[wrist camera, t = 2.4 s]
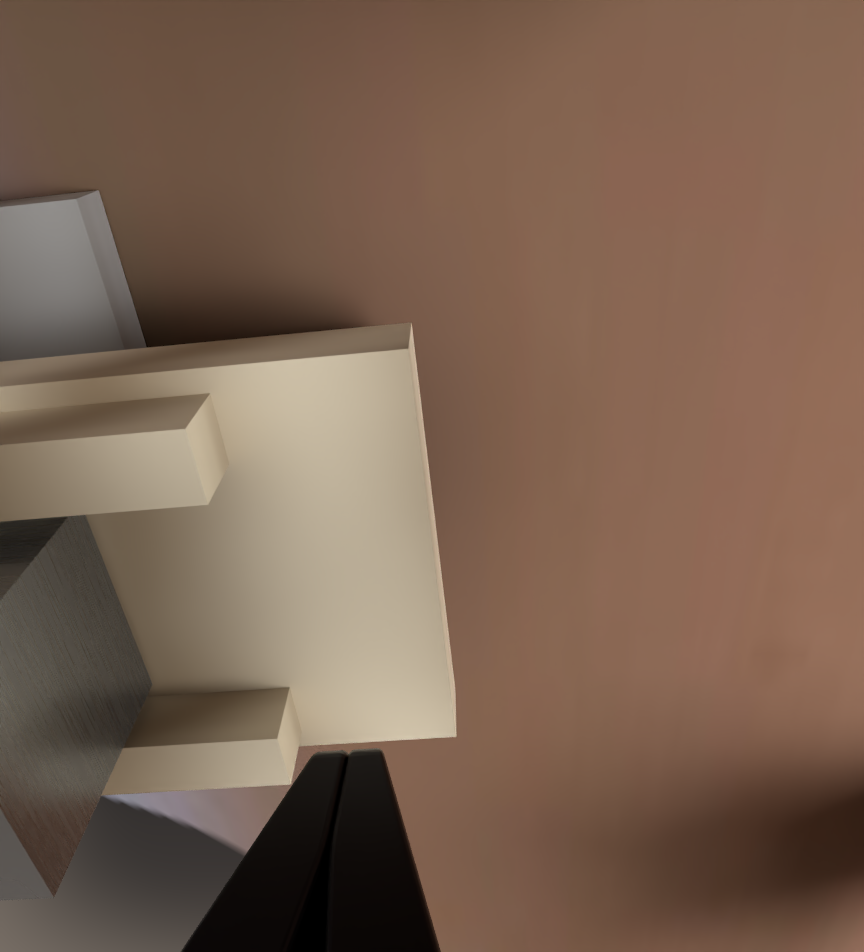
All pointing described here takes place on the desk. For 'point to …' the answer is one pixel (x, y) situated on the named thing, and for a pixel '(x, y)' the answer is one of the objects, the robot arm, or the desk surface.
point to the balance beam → (227, 511)
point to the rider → (58, 696)
